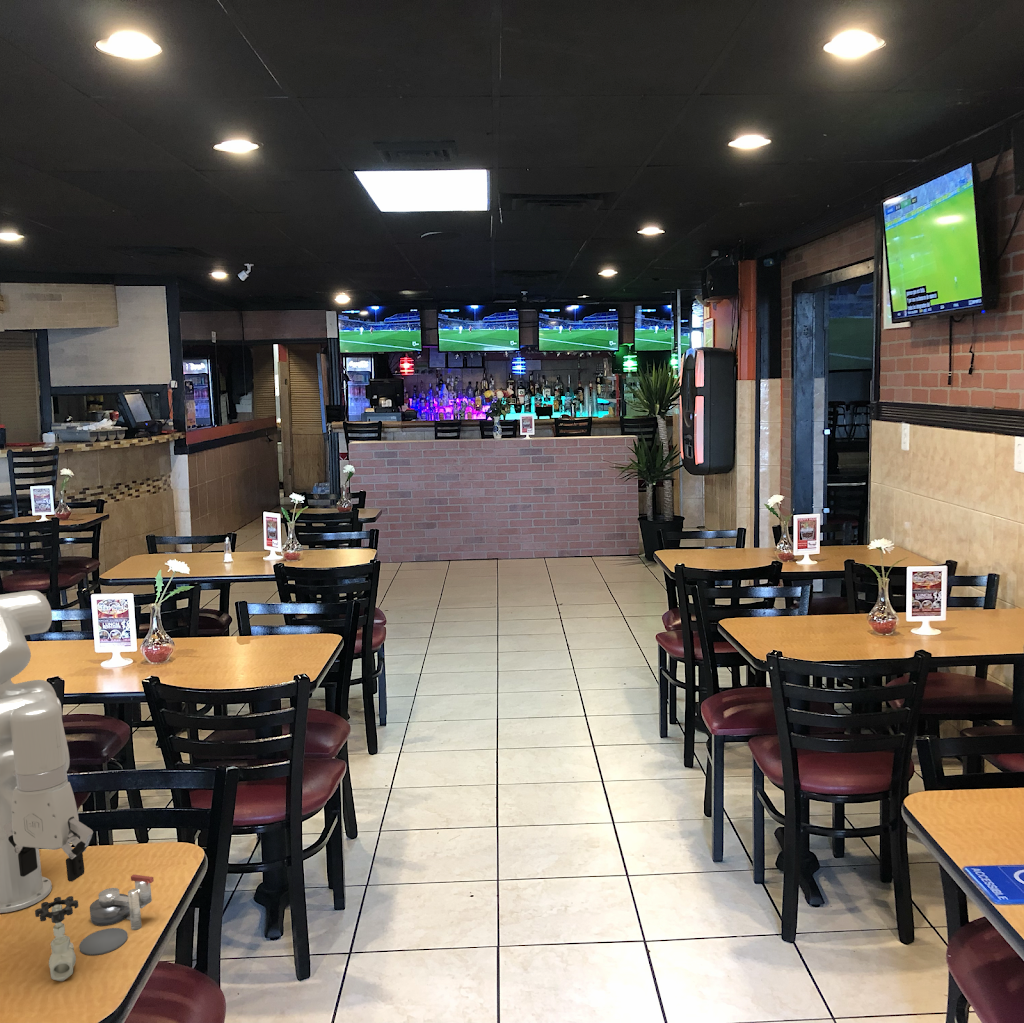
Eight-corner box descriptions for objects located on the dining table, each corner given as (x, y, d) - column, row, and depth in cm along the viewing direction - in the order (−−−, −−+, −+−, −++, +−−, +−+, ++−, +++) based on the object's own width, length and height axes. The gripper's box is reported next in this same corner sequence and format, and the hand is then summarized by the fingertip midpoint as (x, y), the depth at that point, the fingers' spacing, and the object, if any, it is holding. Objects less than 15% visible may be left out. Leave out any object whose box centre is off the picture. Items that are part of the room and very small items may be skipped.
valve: (40, 988, 154) (33, 920, 153) (43, 967, 160) (36, 901, 159) (84, 977, 157) (77, 910, 156) (85, 956, 163) (78, 892, 162)
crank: (95, 905, 175) (92, 875, 174) (108, 895, 178) (105, 866, 178) (148, 913, 171) (145, 882, 171) (161, 903, 175) (158, 873, 174)
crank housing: (82, 923, 174) (78, 888, 173) (108, 904, 181) (105, 869, 180) (136, 930, 171) (133, 894, 170) (161, 910, 177) (157, 875, 176)
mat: (69, 952, 165) (69, 950, 165) (100, 927, 172) (100, 925, 172) (107, 957, 162) (106, 955, 162) (137, 932, 170) (137, 930, 170)
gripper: (-18, 783, 154) (-7, 881, 156) (68, 789, 149) (79, 891, 151) (17, 766, 161) (28, 860, 163) (101, 771, 156) (110, 869, 158)
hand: (52, 875), depth 157 cm, fingers open, 9 cm apart
